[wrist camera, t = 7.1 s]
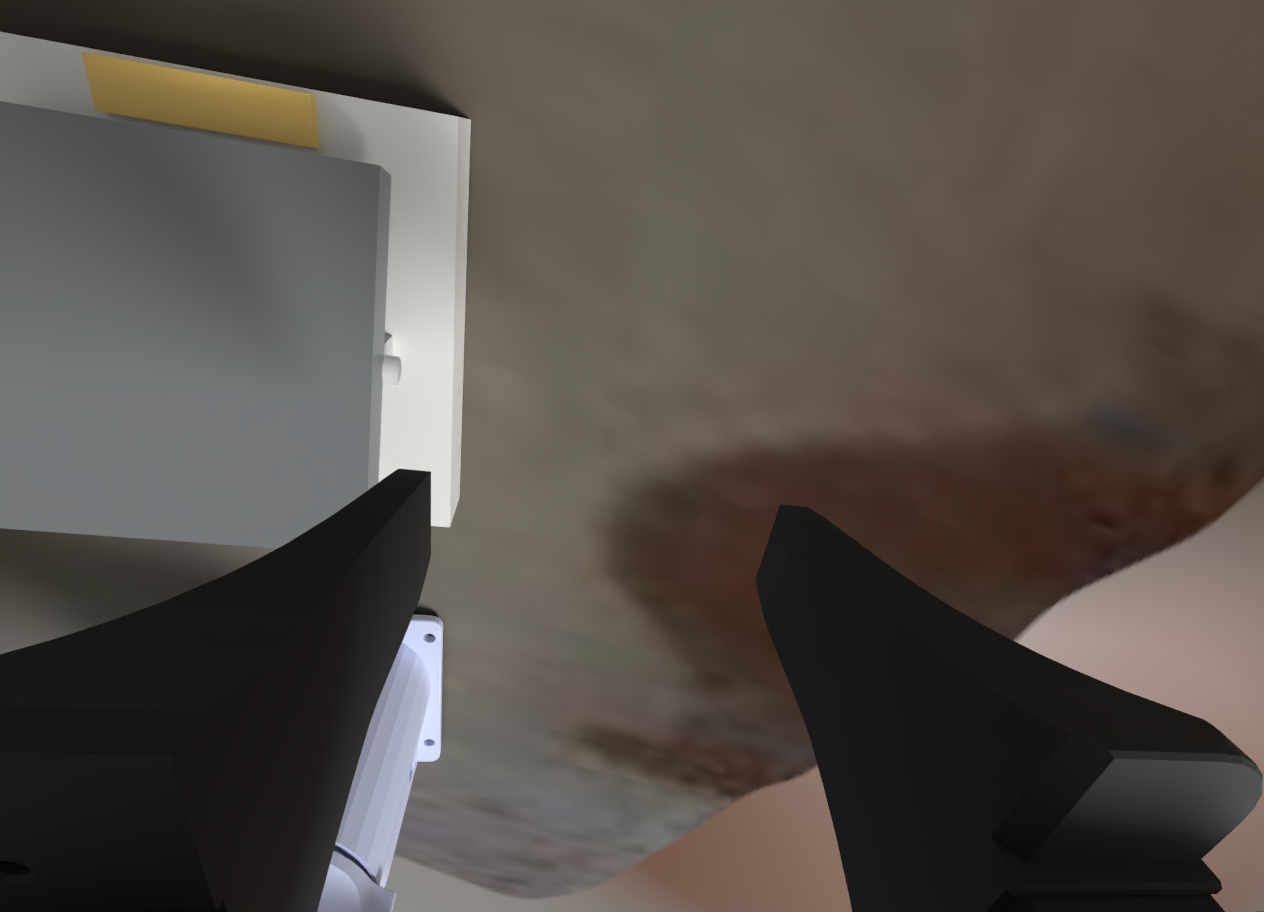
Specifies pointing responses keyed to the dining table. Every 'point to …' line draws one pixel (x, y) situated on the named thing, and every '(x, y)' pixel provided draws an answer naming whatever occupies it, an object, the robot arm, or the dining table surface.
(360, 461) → the rocker
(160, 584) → the dining table surface
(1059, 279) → the dining table surface
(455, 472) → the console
